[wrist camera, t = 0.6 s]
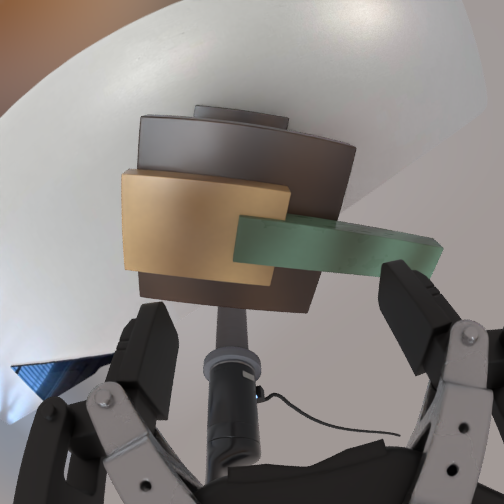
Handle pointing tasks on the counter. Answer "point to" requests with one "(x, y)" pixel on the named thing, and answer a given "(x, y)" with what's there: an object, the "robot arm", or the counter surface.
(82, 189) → the counter surface
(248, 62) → the counter surface
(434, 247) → the spatula
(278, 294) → the brown pedestal stand
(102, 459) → the robot arm
